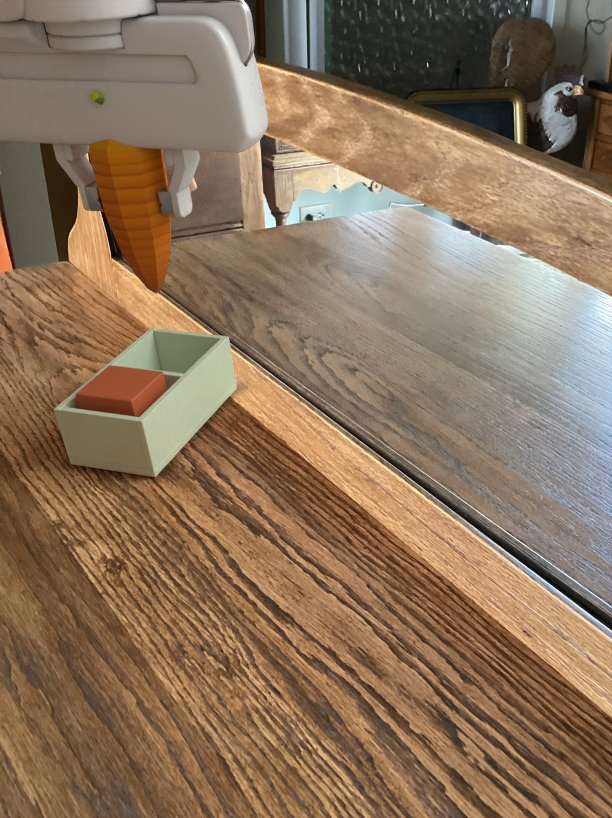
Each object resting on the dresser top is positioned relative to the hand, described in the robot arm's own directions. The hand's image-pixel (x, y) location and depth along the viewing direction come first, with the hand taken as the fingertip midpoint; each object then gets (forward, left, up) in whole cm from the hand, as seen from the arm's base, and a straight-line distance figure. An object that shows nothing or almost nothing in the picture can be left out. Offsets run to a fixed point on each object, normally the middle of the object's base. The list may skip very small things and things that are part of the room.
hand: (138, 211), depth 62 cm
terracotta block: (0, -6, -14) cm, 16 cm away
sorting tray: (0, -3, -15) cm, 16 cm away
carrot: (0, 0, -6) cm, 6 cm away
